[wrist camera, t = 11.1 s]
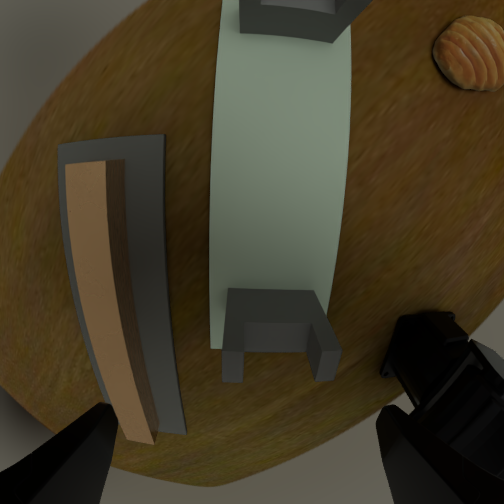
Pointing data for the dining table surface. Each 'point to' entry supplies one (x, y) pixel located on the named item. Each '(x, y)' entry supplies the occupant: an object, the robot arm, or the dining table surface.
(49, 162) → the dining table surface
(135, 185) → the rubber mat
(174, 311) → the dining table surface
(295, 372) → the dining table surface
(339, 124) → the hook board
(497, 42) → the pastry
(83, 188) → the copper rail
